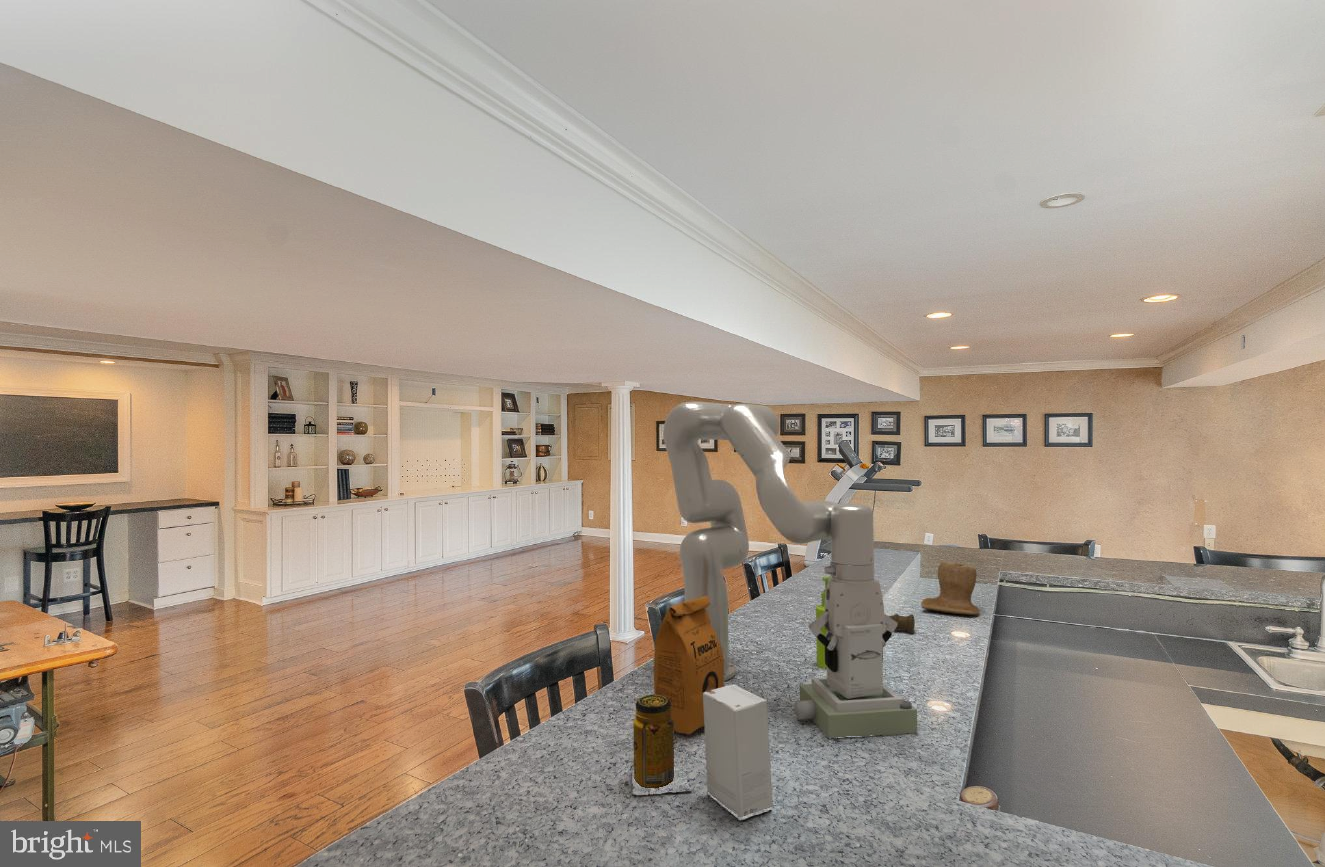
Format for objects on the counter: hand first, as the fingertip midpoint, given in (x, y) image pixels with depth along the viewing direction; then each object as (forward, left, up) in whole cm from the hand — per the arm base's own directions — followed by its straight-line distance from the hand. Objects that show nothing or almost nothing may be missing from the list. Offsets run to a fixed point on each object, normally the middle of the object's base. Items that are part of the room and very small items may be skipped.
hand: (854, 668), depth 113 cm
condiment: (-38, -16, -9) cm, 42 cm away
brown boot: (+61, +66, -9) cm, 90 cm away
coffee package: (-30, +3, -9) cm, 31 cm away
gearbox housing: (-1, 0, -9) cm, 9 cm away
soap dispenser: (+7, +27, -9) cm, 29 cm away
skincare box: (-28, -23, -9) cm, 37 cm away
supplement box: (0, 0, -4) cm, 4 cm away
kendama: (+30, +53, -10) cm, 62 cm away
